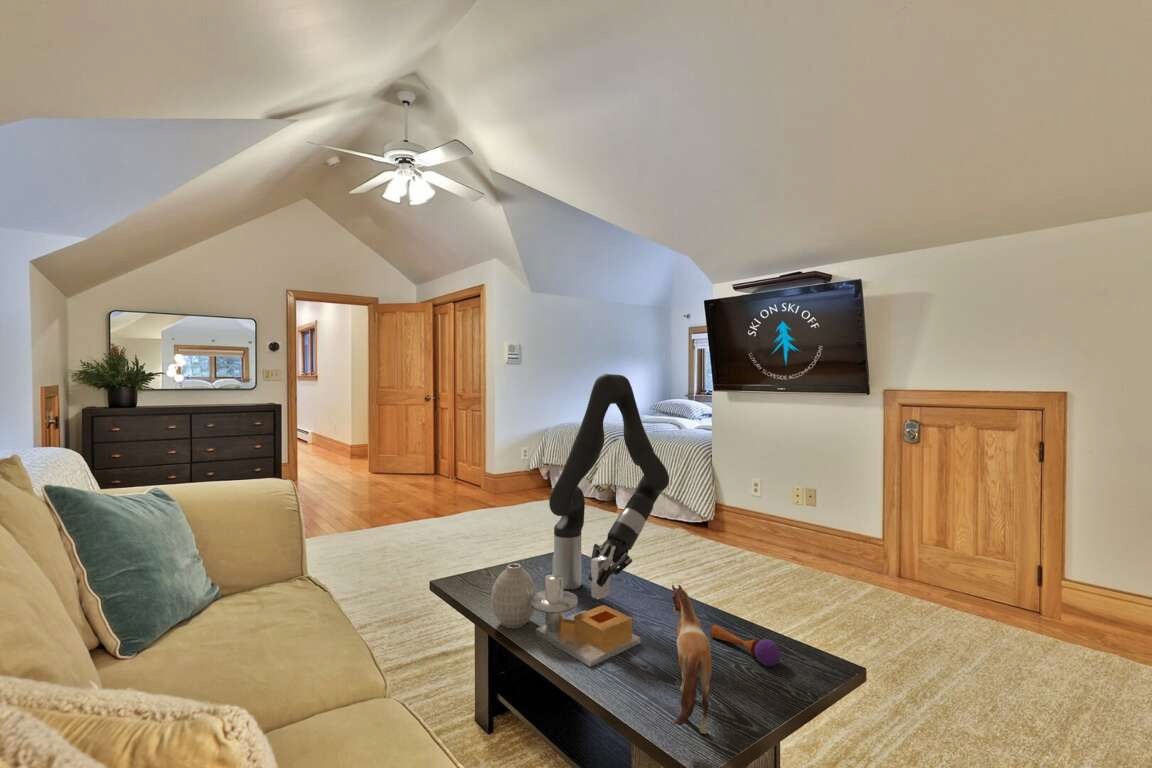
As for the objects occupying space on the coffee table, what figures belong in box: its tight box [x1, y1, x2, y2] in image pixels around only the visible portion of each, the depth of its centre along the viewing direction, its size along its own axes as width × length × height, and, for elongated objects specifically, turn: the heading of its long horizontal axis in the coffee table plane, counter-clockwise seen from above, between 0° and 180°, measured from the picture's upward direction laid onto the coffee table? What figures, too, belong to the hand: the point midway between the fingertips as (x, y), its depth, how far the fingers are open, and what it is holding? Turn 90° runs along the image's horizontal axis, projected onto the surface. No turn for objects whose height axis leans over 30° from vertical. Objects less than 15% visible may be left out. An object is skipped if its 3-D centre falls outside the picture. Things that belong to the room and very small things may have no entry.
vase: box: [490, 563, 537, 630], centre depth 155 cm, size 13×13×17 cm
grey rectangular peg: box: [590, 556, 611, 600], centre depth 145 cm, size 2×4×10 cm, turn 131°
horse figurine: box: [671, 584, 712, 735], centre depth 117 cm, size 31×8×21 cm, turn 170°
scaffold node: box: [530, 573, 641, 668], centre depth 147 cm, size 26×20×16 cm
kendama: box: [709, 624, 782, 667], centre depth 140 cm, size 6×6×20 cm
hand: (594, 583), depth 144 cm, fingers closed on grey rectangular peg, 2 cm apart
